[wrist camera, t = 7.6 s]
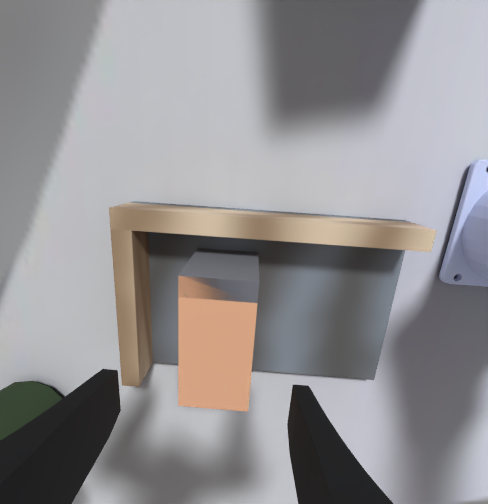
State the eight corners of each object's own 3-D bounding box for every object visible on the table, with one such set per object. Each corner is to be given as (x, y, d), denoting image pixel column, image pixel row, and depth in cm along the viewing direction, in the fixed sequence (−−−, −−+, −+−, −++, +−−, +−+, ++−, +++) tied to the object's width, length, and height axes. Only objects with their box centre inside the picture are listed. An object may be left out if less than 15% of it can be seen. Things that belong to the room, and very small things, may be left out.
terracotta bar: (249, 355, 21) (248, 411, 16) (196, 351, 21) (178, 405, 16) (258, 252, 18) (259, 281, 14) (198, 247, 18) (178, 274, 14)
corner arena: (404, 220, 18) (436, 230, 15) (369, 372, 22) (389, 407, 18) (134, 201, 18) (108, 207, 15) (141, 354, 22) (122, 385, 19)
